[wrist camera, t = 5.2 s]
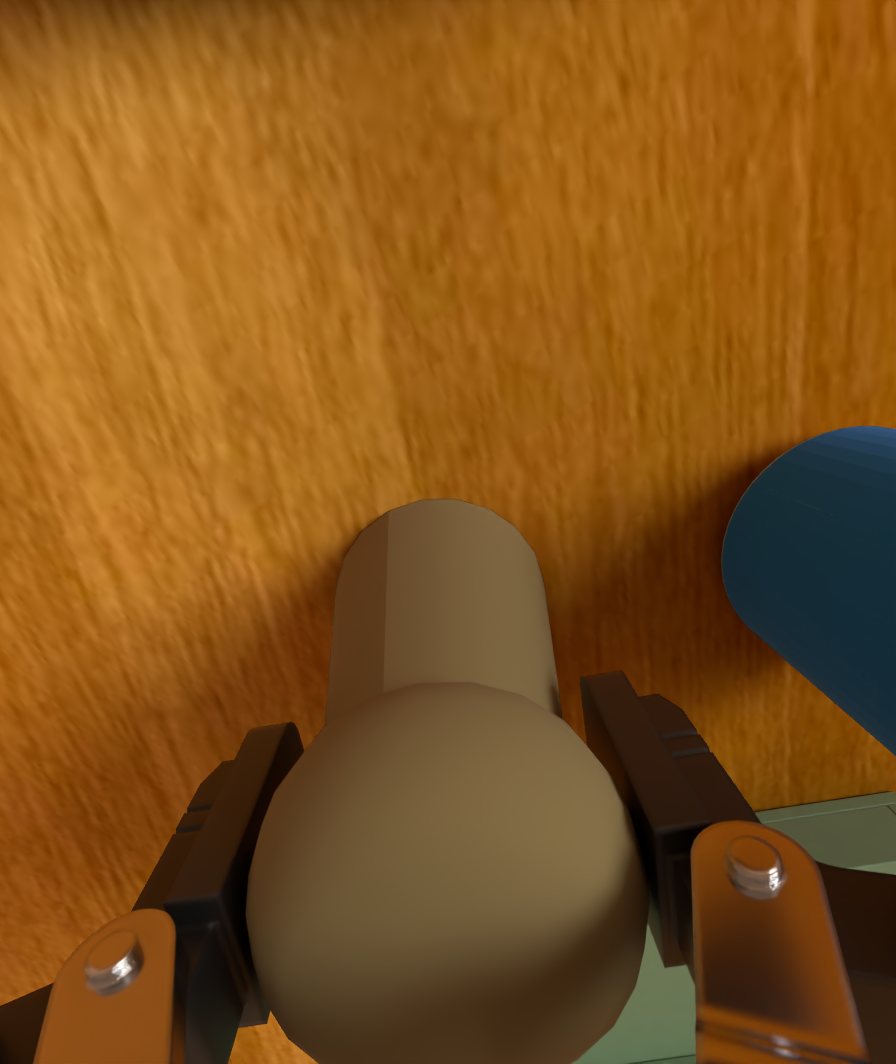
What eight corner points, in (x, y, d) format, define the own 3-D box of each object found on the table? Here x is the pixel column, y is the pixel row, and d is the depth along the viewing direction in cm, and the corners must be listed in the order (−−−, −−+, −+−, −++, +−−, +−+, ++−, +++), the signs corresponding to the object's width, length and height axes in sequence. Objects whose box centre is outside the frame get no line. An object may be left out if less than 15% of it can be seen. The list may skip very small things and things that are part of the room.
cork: (556, 672, 17) (741, 1153, 7) (360, 705, 18) (252, 1221, 7) (530, 480, 16) (724, 734, 5) (313, 518, 16) (76, 839, 5)
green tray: (892, 790, 19) (958, 853, 17) (874, 1023, 22) (927, 1103, 20) (440, 858, 19) (441, 929, 17) (488, 1077, 23) (495, 1162, 20)
